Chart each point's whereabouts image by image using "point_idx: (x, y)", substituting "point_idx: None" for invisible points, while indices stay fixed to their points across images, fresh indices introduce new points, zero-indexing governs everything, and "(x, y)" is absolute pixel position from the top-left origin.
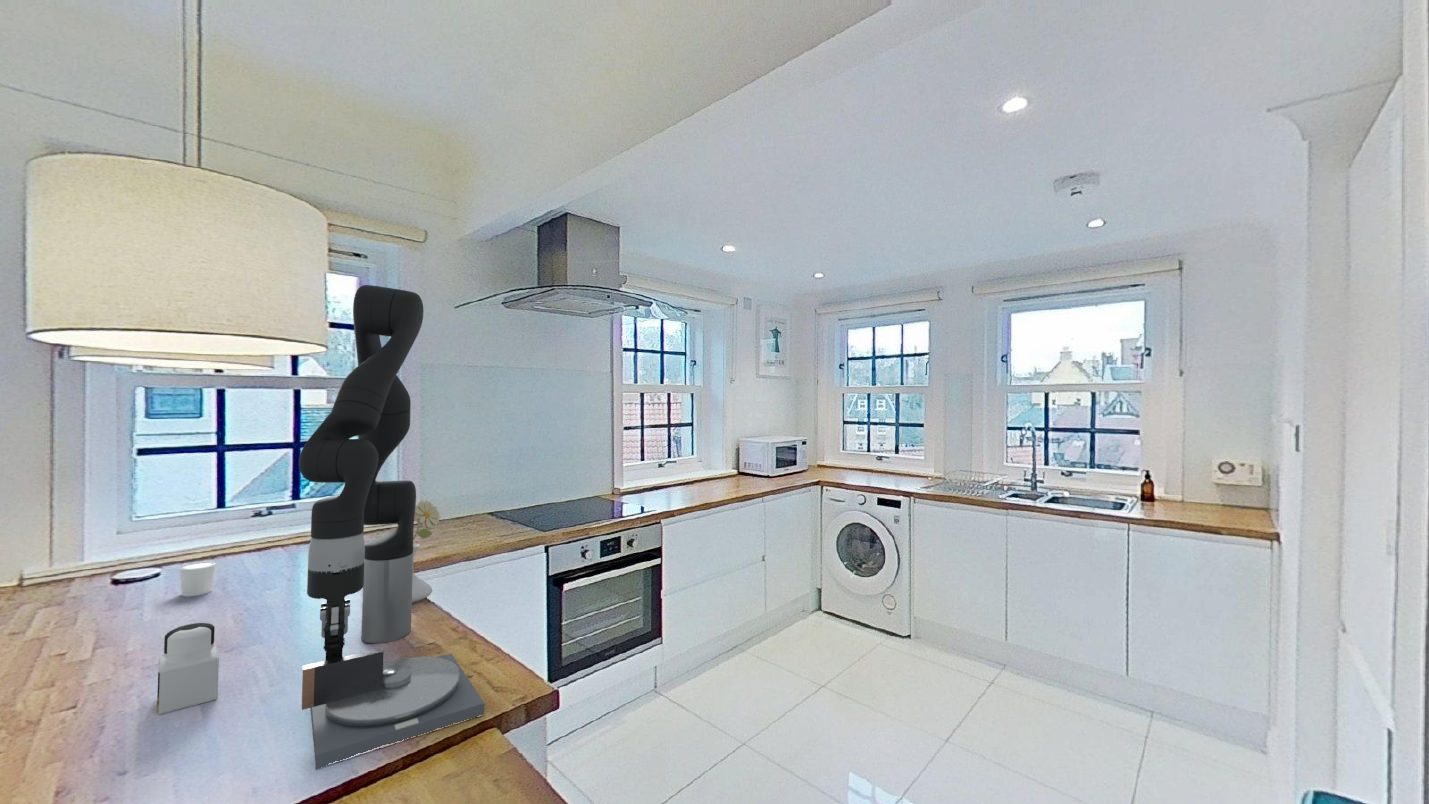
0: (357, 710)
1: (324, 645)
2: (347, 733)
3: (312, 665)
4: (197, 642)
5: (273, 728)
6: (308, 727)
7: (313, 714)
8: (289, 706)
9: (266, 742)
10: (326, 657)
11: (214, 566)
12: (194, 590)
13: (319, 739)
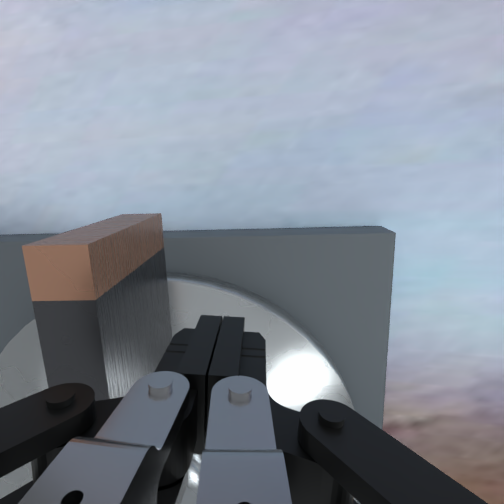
0: (33, 360)
1: (55, 407)
2: (13, 315)
3: (63, 291)
4: None
5: (250, 135)
6: (199, 221)
7: (180, 240)
8: (374, 172)
9: (173, 122)
10: (187, 353)
11: None
12: None
13: (15, 252)
